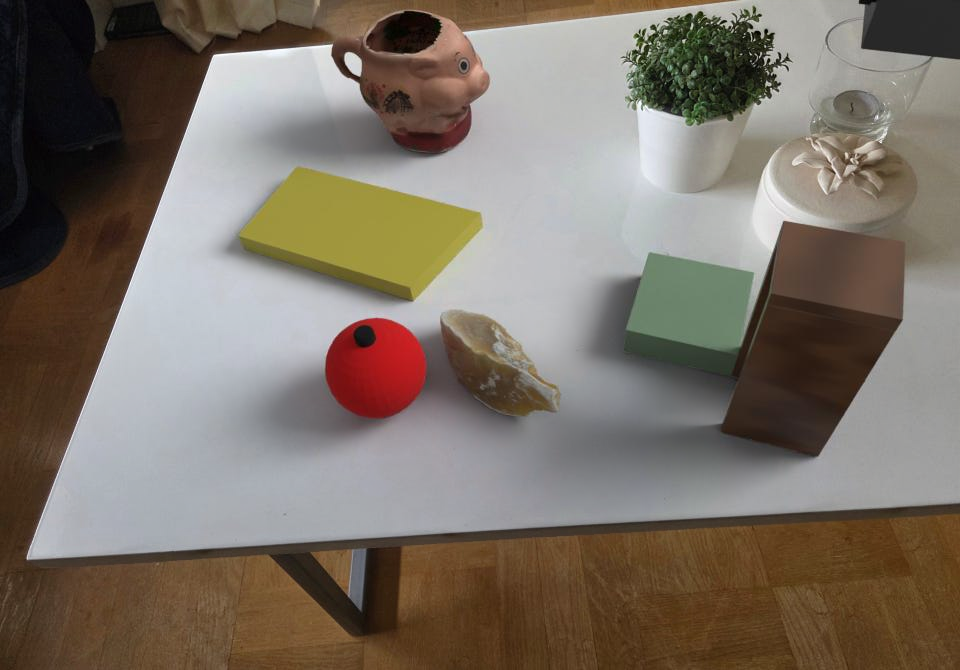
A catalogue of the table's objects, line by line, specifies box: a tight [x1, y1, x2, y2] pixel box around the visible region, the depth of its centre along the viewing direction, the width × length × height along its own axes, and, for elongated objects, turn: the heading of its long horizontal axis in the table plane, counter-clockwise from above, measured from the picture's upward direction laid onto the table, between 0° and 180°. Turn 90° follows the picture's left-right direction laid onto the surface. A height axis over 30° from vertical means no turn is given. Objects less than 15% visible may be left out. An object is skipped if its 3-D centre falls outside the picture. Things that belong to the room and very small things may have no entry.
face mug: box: [330, 9, 491, 154], centre depth 86 cm, size 20×12×14 cm, turn 74°
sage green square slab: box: [622, 251, 755, 378], centre depth 69 cm, size 10×10×4 cm
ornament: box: [324, 317, 427, 419], centre depth 65 cm, size 9×9×10 cm
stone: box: [439, 308, 562, 418], centre depth 66 cm, size 7×6×15 cm
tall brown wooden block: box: [720, 220, 907, 458], centre depth 57 cm, size 8×7×19 cm
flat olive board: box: [237, 165, 483, 302], centre depth 81 cm, size 12×2×24 cm
